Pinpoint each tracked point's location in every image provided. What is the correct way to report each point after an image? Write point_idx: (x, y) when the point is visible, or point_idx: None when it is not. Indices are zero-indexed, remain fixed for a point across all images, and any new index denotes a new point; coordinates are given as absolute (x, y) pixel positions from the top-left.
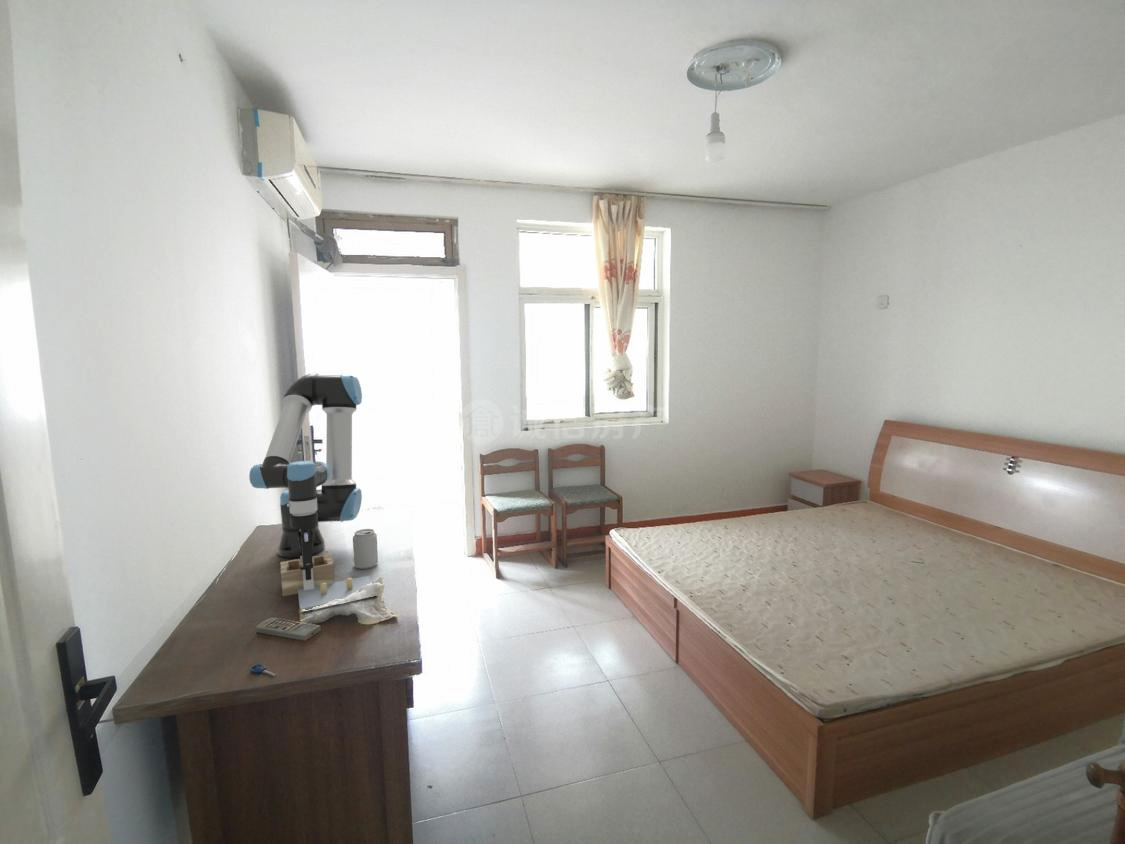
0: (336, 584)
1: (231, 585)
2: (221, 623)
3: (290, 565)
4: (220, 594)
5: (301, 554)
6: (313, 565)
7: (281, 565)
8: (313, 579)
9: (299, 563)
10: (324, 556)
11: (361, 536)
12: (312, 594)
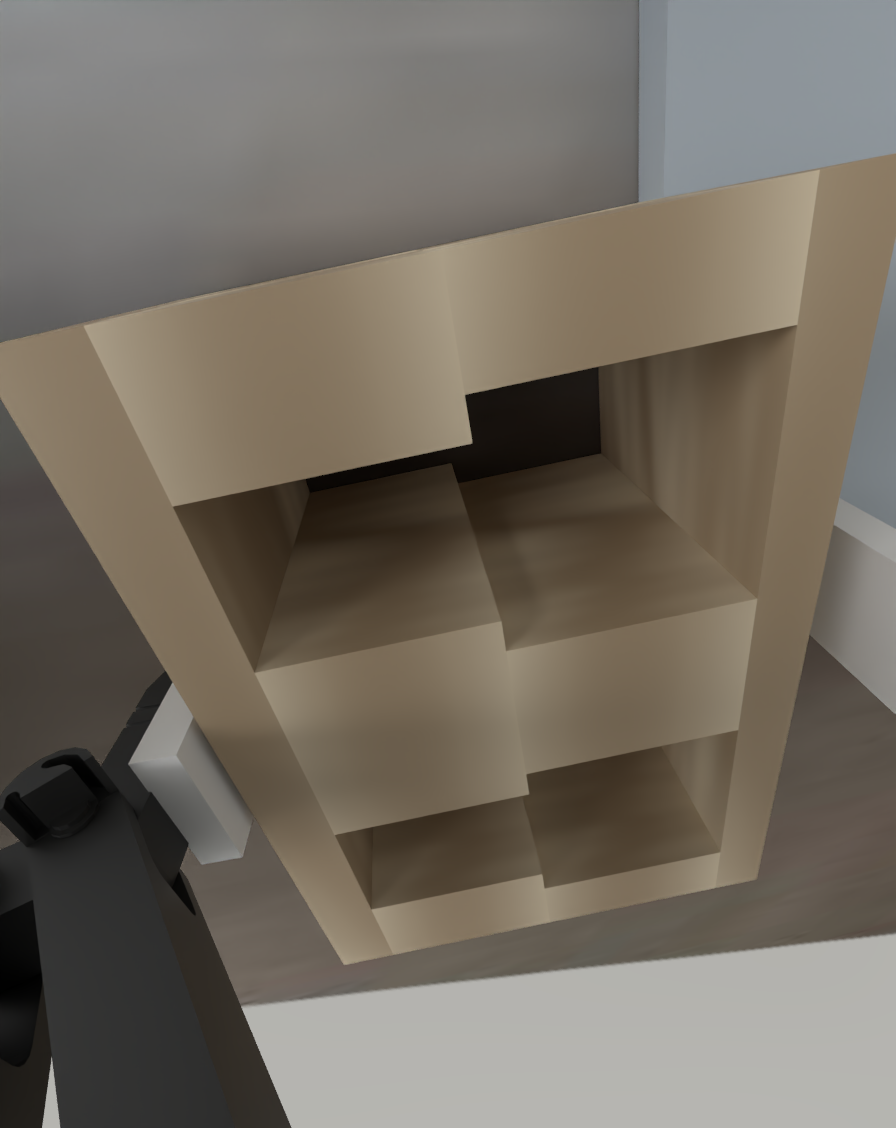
0: (764, 153)
1: (297, 953)
2: (832, 851)
3: (365, 842)
4: (424, 953)
5: (184, 879)
6: (490, 594)
7: (476, 931)
8: (839, 500)
9: (488, 796)
10: (208, 471)
11: None
12: (880, 448)
